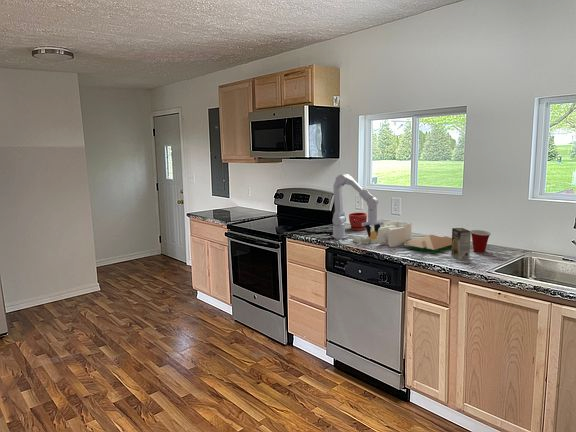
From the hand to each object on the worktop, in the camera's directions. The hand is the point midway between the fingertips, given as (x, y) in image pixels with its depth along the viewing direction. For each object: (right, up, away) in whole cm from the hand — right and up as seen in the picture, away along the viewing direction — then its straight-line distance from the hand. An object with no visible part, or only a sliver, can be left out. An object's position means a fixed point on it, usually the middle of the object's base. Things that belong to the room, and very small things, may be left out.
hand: (372, 236), depth 277 cm
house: (+32, -6, -19) cm, 38 cm away
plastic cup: (+55, -8, -33) cm, 65 cm away
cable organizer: (+10, -5, -12) cm, 16 cm away
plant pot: (-3, +3, +39) cm, 39 cm away
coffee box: (+39, -10, -45) cm, 61 cm away
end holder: (0, -4, 0) cm, 4 cm away
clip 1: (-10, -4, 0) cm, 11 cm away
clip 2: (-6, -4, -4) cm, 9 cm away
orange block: (0, -2, 0) cm, 2 cm away
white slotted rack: (+14, -2, +10) cm, 17 cm away
